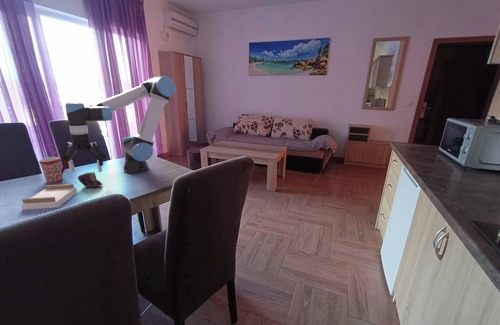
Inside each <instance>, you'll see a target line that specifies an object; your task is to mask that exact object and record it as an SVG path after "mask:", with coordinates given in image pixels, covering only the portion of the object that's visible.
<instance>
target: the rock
mask: <svg viewBox="0 0 500 325" xmlns="http://www.w3.org/2000/svg"><path fill="white" fill-rule="evenodd" d="M77 180H78V181H79V182H80V183H81V184H82V185H83V186H84V187H85V188H89V189H91V187H92V188H93V187H94V188H95V187H101V186H103V183H102V182H101V181H100V180H99V179H97V175H96V172H95V171H93V172H86V173H82V174H80V175H78V177H77Z"/></svg>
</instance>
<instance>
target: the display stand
mask: <svg viewBox="0 0 500 325" xmlns="http://www.w3.org/2000/svg"><path fill="white" fill-rule="evenodd" d="M77 193H78V191H77V187H75V186H74V184H73V183H70V184H69V183H65V184H63V183H62V184H47V185H44V189H42V190H41V191H39V192H38V193H36V194H35V195H33V196H31V197H28V198H22V199H21V201H22V202H21V203H20V206H21V209H22V210H23V211H24V210H40V209H41V210H43V209H56V208H60V207H61V206H63V204H64V203H66V202H67V201H69V200H70V199H71V198H73V197H74V196H75V195H76V194H77Z"/></svg>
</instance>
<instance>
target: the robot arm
mask: <svg viewBox="0 0 500 325" xmlns="http://www.w3.org/2000/svg"><path fill="white" fill-rule="evenodd" d="M176 88H177V86H176V83H175V81H174V80H173V79H172V78H171V77H170V76H165V75H160V76H154V77H151V78H149V79H148V80H146V81H144V82H141V83H140V84H139V86H136V87H134V88H131V89H129V90H127V91H124V92H122V93H120V94H117V95H115V96H111V97H109V98H107V99H104V100H102V101H100V102H97V103H95V104H91V105H89V106H85V105H84V103H83V102H67V103H65V112H66V117H67V122H68V128H69V132H70V138H71V139H70V140H71V142H70V141H68V142H65V148H64V150H63V152H62V155H61V158H60V159H62V160H65V161H66V167H68V168H69V172H70V174H73V173H74V172H75V165H74V160H72V159H73V157H74V156H75V155H76V153H77V152H81V151H82V152H88V153H89V154H90V155H92V156H93V157H94V158H95V159H96V163H97V170H98V173H101V172H103V167H102V166H103V165H104V163H103V160H105V159H107V157H106V155H105V154H104V152H103V151H102V149H101V148H100V147H99V146H98V142H97V141H94V142H91V140H90V134H89V129H88V123H87V122H108V121H112V120H113V116H114V115H113V113H115V111H119V110H120V109H123V108H125V107H127V106H129V105H131V104H134V103H137V102H138V101H140V100H144V99H145V98H146V99H149V98H150V100H149V102H148V105H147V108H146V110H145V114H144V115H143V119H142V122H141V125H140V127H139V130H138V132H137V134H135V135H133V136H126V137H123V138H122V139H121V140H122V146H123V147H122V148H123V153H124V160H125V161H124V164H123V172H124V173H126V174H141V173H144V172H147V171H148V170H149V164H148V162H147V161H148V160H150V159H151V158H152V156H153V155H154V149H153V146H154V143H155V141H154V140H153V138H154V136H155V132H156V130H157V127H158V125H159V122H160V119H161V116H162V114H163V111H164V107H165V105H166V104H167V103H169V101H170V99H171V97H172V96H174V95H175V93H176V90H177V89H176ZM71 147H73V148H71ZM71 149H72V151H71V152H70V150H71ZM62 160H61V161H62Z"/></svg>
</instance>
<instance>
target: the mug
mask: <svg viewBox="0 0 500 325" xmlns="http://www.w3.org/2000/svg"><path fill="white" fill-rule="evenodd" d="M61 161H62V166H61ZM38 162H39V164H40V167H41V169H42V173H43V175H44V178H45V181H46V183H48V184H56V183H60V182H61V181H63V179H64V178H63V174H64V173H65V170H66V167H67V162H66V161H65V160H62V159H61V158H60V157H58V156H51V157H50V156H48V157H45V158H40V159H38Z"/></svg>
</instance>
